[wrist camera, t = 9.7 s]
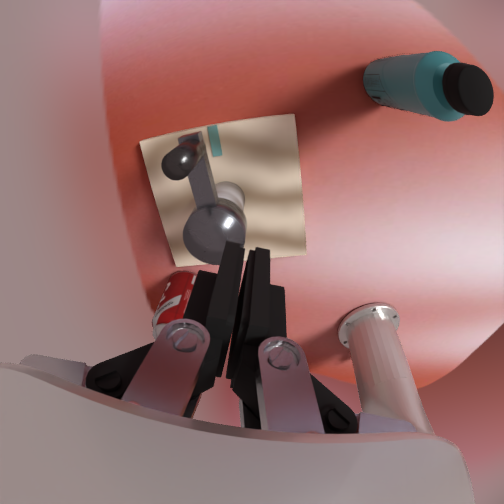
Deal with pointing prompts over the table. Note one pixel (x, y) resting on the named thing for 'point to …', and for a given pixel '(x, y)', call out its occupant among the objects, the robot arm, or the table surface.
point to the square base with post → (238, 183)
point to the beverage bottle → (429, 85)
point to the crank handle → (204, 202)
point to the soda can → (173, 300)
